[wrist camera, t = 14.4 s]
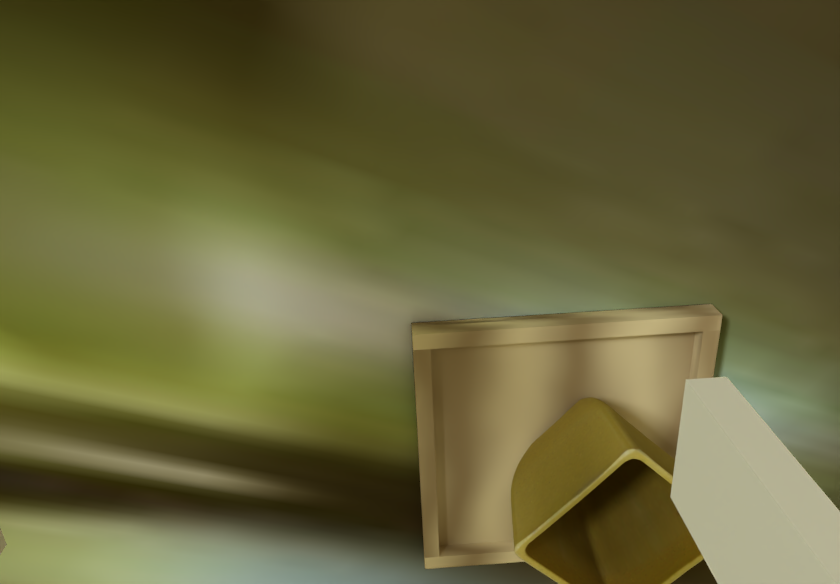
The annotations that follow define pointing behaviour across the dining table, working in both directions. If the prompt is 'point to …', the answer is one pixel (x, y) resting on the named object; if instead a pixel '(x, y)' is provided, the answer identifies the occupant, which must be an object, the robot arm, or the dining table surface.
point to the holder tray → (536, 404)
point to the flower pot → (599, 503)
